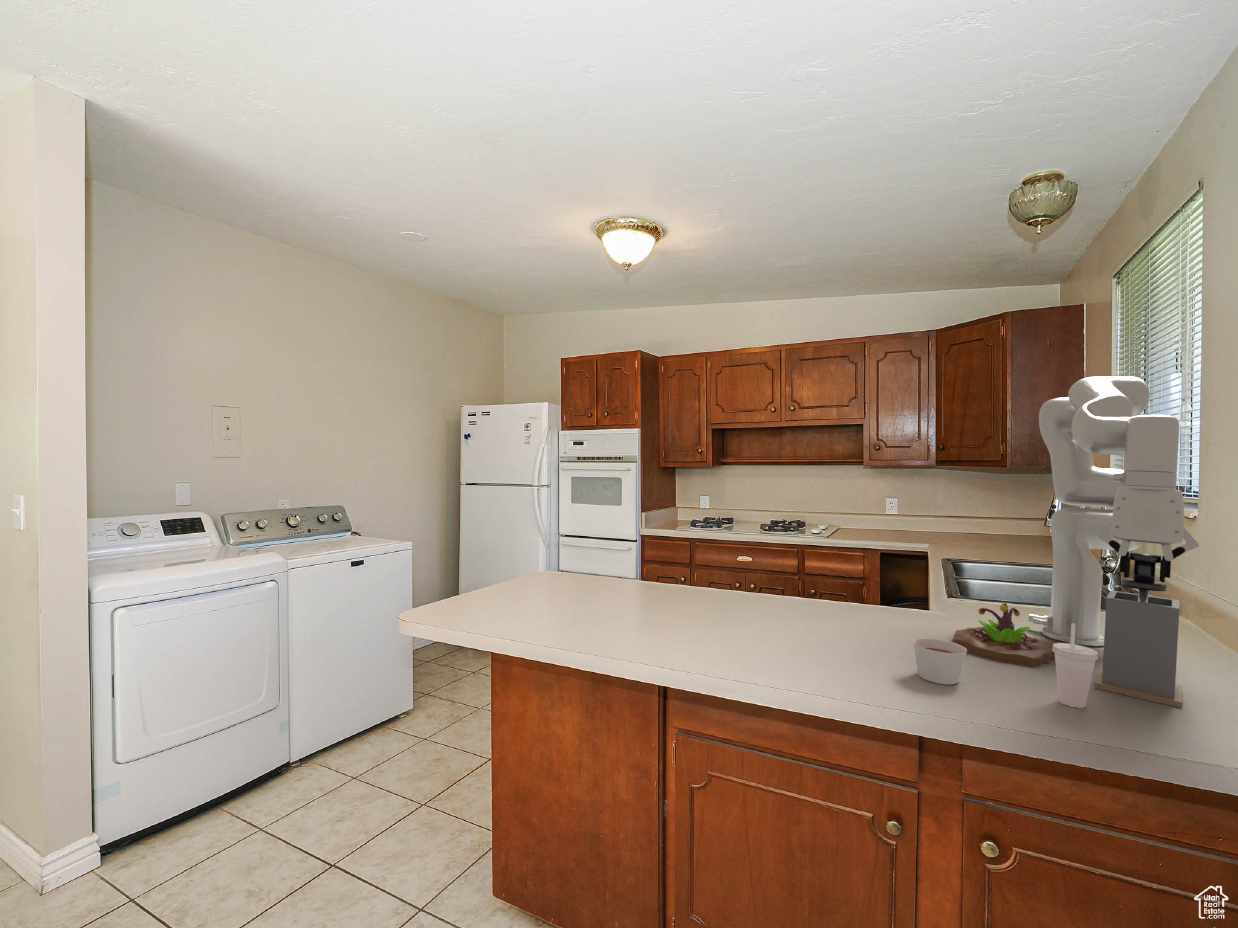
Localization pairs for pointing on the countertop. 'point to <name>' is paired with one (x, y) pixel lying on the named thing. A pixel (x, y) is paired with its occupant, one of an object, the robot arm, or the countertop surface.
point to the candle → (939, 660)
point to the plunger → (1144, 575)
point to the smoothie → (1074, 671)
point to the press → (1141, 648)
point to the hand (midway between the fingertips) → (1144, 577)
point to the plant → (1005, 641)
